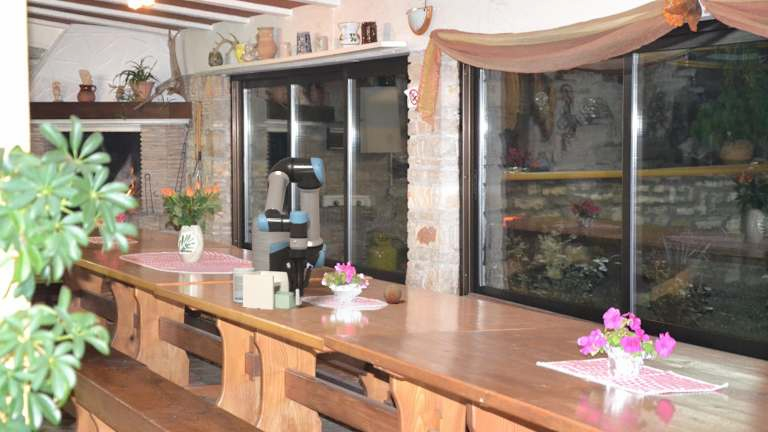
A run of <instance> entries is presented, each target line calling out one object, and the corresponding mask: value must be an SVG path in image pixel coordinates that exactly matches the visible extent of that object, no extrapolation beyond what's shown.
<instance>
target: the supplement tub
mask: <svg viewBox="0 0 768 432" xmlns="http://www.w3.org/2000/svg"><path fill="white" fill-rule="evenodd" d="M251 272H255V269H254V268H252V267H235V268H233V271H232V300H233V303H236V304H243V274H247V273H251Z"/></svg>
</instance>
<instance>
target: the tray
mask: <svg viewBox="0 0 768 432" xmlns="http://www.w3.org/2000/svg"><path fill="white" fill-rule="evenodd" d="M299 307H300V305H296V297H295V296H294V291H293V292H281V291H274V309H273V310H287V311H289V310H293V309H297V308H299Z"/></svg>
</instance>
